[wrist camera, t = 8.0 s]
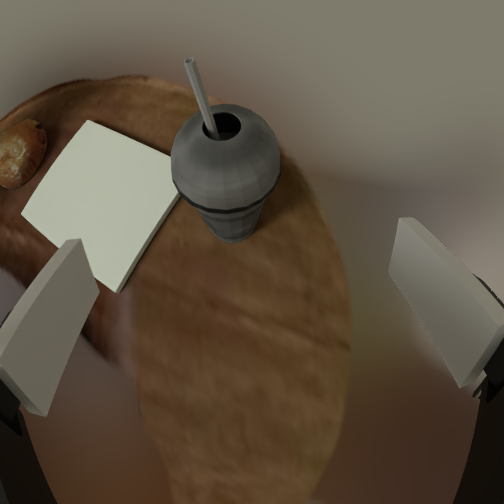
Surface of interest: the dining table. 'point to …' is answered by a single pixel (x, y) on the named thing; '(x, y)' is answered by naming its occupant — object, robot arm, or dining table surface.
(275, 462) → the dining table surface
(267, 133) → the beverage cup
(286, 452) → the dining table surface
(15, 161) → the bread roll
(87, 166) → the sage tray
